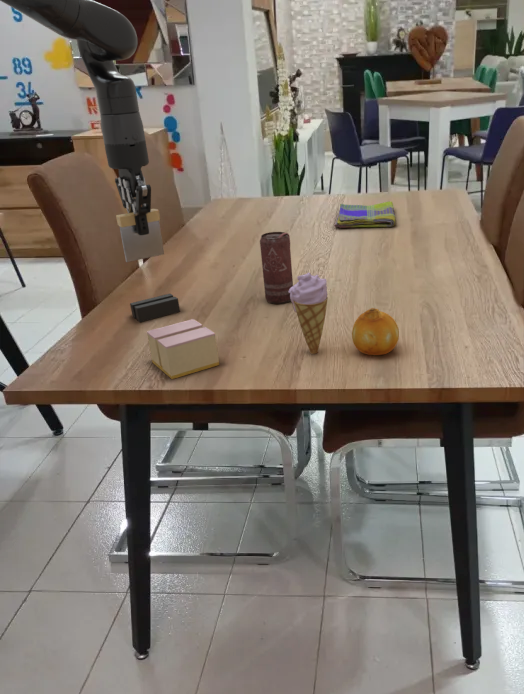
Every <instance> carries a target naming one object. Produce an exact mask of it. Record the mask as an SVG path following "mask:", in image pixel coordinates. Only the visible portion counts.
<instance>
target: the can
mask: <svg viewBox="0 0 524 694" xmlns="http://www.w3.org/2000/svg"><path fill="white" fill-rule="evenodd" d="M290 236H291V235H290V234H289V233H288V232H284V231H269V232H265V233H263V234H261V236H260V239H259V247H260V257H261V266H262V276H263V286H264V299H265V300H266V301H267V303H269V304H273V305H284V304H287V303H290V302H292V301H291V299H290V294H291V293H289V292H288V291H289V289H290V288H291V287H292V286H294V280H293V279H294V278H293V268H292V255H291V253H292V252H291V237H290Z"/></svg>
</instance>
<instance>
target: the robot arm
mask: <svg viewBox="0 0 524 694" xmlns="http://www.w3.org/2000/svg"><path fill="white" fill-rule="evenodd" d="M0 2H1V3H4V4H5V5H6V6H9V7H10V8H13V9H14V10H15V11H18V12H19V13H22V14H23V15H24V16H26V17H28V18H29V19H31V20H33V21H34V22H37V23H38V24H40V25H42V26H43V27H45V28H46V29H49V30H50V31H52V32H54V33H55V34H57V35H59V36H61V37H63V38H66V39H68V40H75V41H76V45H77V49H78V53H79V55H80V58H81V60H82V62H83V64H84V67H85V69H86V71H87V74H88V77H89V78H90V80H91V81H90V82H91V83H92V85H93V87H94V90H95V94H96V99H97V105H98V110H99V116H100V125H101V126H100V128H101V134H102V140H103V145H104V149H105V154H106V160H107V166H108V167H109V168H110V169H112V170H118V177H115V178H114V183H115V185H116V189H117V191H118V194H119V197H120V201H121V204H122V207H123V208H124V209H126V213H132V212H133V213H134V215H135V216H134V217H135V223H136V228H137V233H138V234H139V235H146V234H149V227H148V222H147V216H146V214H148V213H149V212H151V209H152V187H151V185H150V184H147V183H146V182H147V181H146V179H145V176H144V175H143V171H142V168H143V167H146V166H148V165H149V163H150V159H149V154H148V153H149V152H148V147H147V141H146V135H145V129H144V123H143V120H142V116H141V112H140V107H139V102H138V96H137V95H138V94H137V89H136V88H137V87H136V85H135V82H134V80H133V79H132V78H130V77H129V76H126V75H124V74H121V73H119V71H118V69H117V66H116V64H115V61H124V60H128V59H130V58H131V57H132V56H133V55H134V54H135V52H136V50H137V47H138V36H137V31H136V29H135V27H134V26H133V24H132V22H131V21H130V20H129V19H128V18H127V17H126V16H125V15H124V14H122V13H121V12H119V11H118V10H116V9H113V8H111V7H109V6H107V5H105V4H102V3H101V2H98V1H95V0H0Z"/></svg>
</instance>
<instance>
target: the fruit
mask: <svg viewBox="0 0 524 694" xmlns="http://www.w3.org/2000/svg"><path fill="white" fill-rule="evenodd" d="M399 330H400V329H399V326H398V323H397V322H396V320H395V319H394V318H393V317H392V316H391V315H389V313H387V312H384V311H381V310H379V309H378V308H375V307H371V308H369V309H367V310H366V311H364V312H363V313H361V314H359V316H358V317H357V318H356V319H355V321H354V323H353V326H352V330H351V340H352V343H353V345H354V347H355V349H357V350H358V351H359V352H360V353H362V354H365V355H368V356H383V355H386V354H389V353H390V352H392V351H393V350H394V349H395V347H396V346H397V344H398V342H399V338H400V331H399Z"/></svg>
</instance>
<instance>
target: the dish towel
mask: <svg viewBox="0 0 524 694" xmlns="http://www.w3.org/2000/svg"><path fill="white" fill-rule="evenodd" d="M395 225H396V215H395V207H394V203H393V201H385V202H379V203H375V204H371V205H364V204H345V203H339V212H338V215H337V218H336V221H335V223H334V227H338V228H339V229H347V228H348V229H349V228H351V229H352V228H392V227H394V226H395Z"/></svg>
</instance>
